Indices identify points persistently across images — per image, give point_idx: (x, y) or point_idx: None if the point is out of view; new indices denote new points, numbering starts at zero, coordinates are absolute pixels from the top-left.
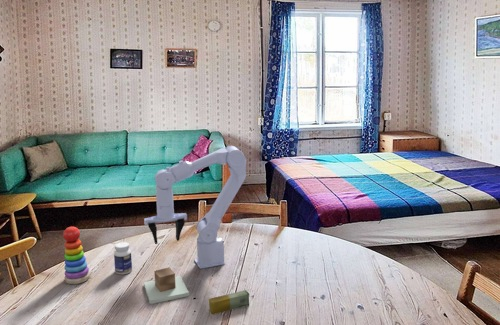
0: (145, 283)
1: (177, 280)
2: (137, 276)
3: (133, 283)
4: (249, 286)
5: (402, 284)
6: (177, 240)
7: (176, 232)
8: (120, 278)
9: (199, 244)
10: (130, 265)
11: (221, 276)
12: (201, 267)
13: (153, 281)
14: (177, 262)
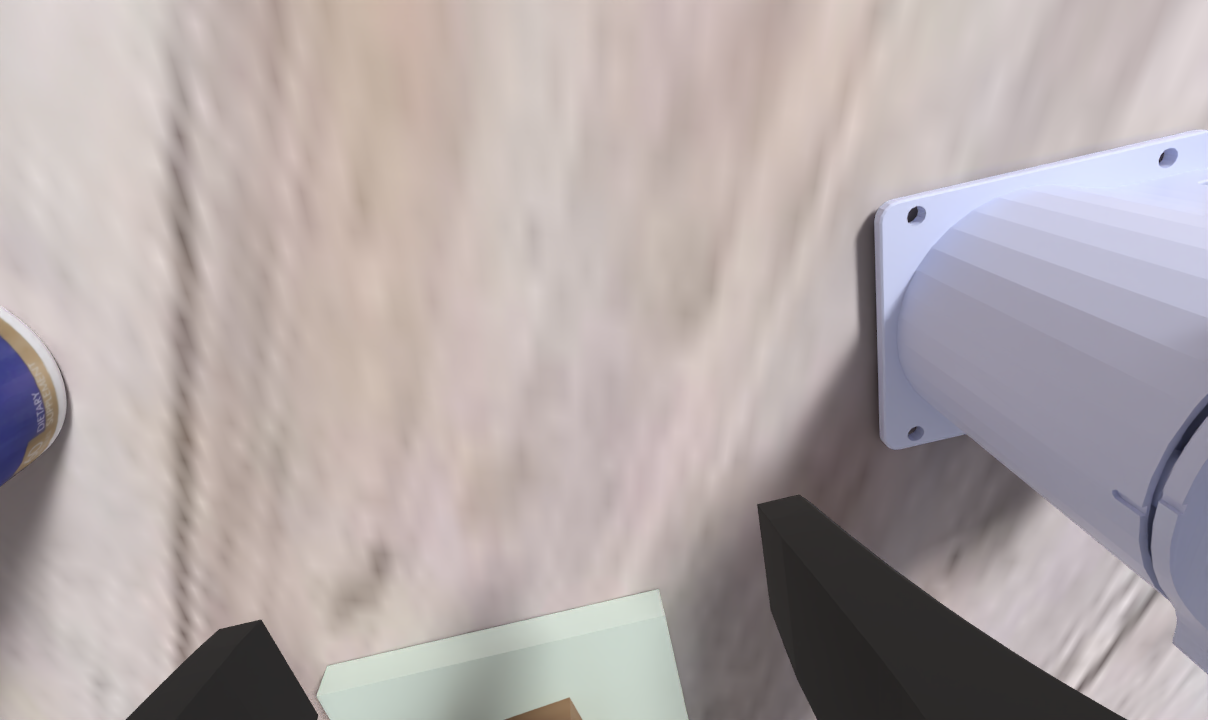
0: (340, 714)
1: (636, 687)
2: (201, 508)
3: (208, 626)
4: (1138, 717)
5: None
6: (776, 616)
7: (851, 679)
8: (9, 529)
9: (1125, 555)
10: (4, 464)
11: (1018, 583)
12: (903, 447)
13: (411, 689)
14: (650, 230)
